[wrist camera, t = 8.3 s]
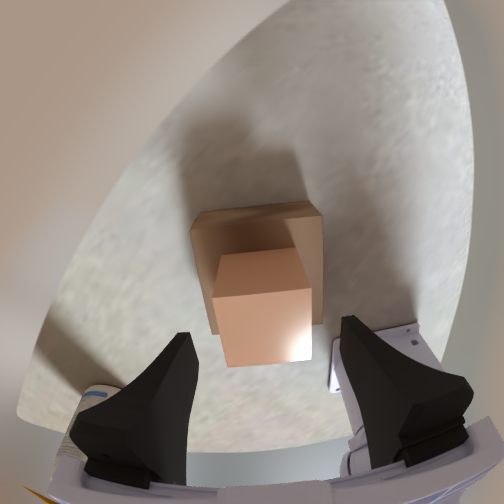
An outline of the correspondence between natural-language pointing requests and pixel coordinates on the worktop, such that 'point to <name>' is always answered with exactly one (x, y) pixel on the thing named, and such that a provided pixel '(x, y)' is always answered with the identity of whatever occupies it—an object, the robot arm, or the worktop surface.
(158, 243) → the worktop surface
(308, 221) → the walnut block
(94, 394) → the supplement tub
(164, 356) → the robot arm
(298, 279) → the orange-tan cube
